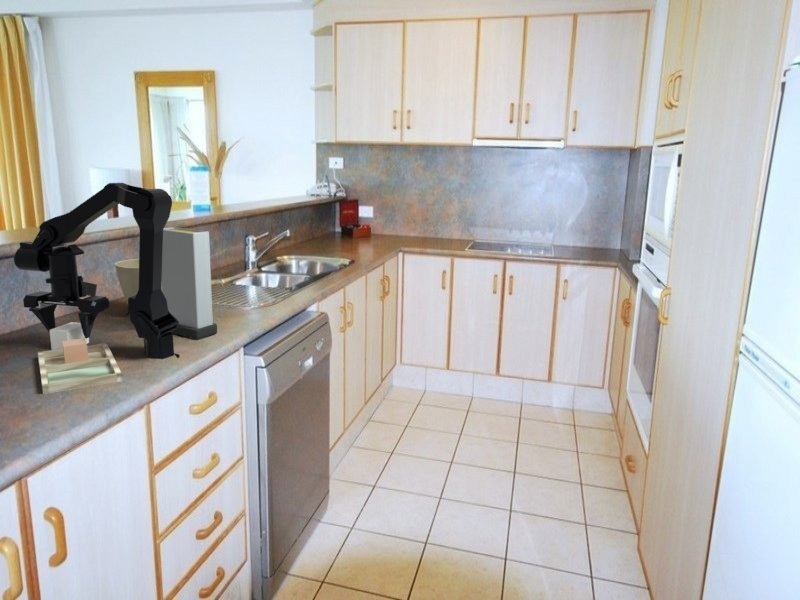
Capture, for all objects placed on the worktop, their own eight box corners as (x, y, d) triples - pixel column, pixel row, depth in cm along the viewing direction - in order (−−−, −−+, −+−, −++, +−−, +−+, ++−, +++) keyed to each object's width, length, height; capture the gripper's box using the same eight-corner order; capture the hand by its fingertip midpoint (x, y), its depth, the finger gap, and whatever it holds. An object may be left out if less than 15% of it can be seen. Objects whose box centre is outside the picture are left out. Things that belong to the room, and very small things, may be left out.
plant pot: (107, 317, 163) (102, 264, 160) (144, 306, 177) (140, 257, 173) (149, 323, 159) (145, 269, 155) (183, 311, 173) (181, 261, 169)
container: (182, 333, 160) (164, 228, 155) (229, 333, 151) (211, 222, 146) (161, 339, 153) (141, 230, 149) (208, 340, 144) (188, 224, 140)
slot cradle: (122, 385, 116) (121, 374, 116) (43, 398, 108) (42, 386, 108) (107, 353, 135) (106, 343, 134) (38, 362, 127) (37, 351, 126)
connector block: (89, 346, 139) (87, 323, 137) (69, 355, 132) (66, 331, 131) (73, 345, 139) (70, 322, 138) (52, 354, 133) (49, 329, 131)
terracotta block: (88, 362, 125) (86, 343, 124) (65, 366, 123) (63, 346, 122) (86, 356, 129) (84, 338, 128) (63, 359, 126) (61, 340, 125)
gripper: (121, 269, 138) (126, 330, 141) (53, 264, 140) (60, 324, 144) (90, 278, 127) (96, 343, 131) (17, 272, 130) (25, 336, 133)
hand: (70, 336), depth 135 cm, fingers open, 9 cm apart
